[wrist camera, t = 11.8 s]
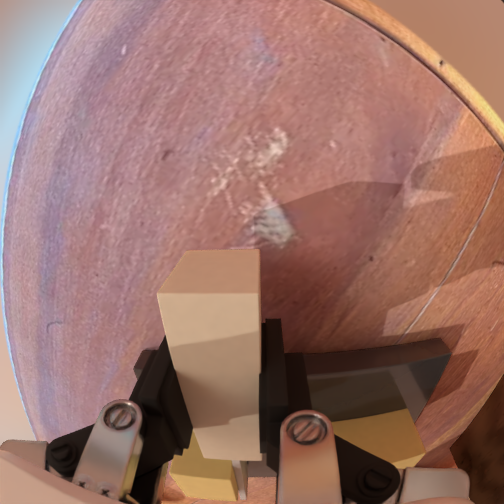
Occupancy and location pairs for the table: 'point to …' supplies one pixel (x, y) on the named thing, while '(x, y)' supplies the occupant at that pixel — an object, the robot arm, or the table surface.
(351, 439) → the butter stick
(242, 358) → the butter knife
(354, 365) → the slate board
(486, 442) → the stand
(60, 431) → the table surface
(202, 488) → the butter pat
